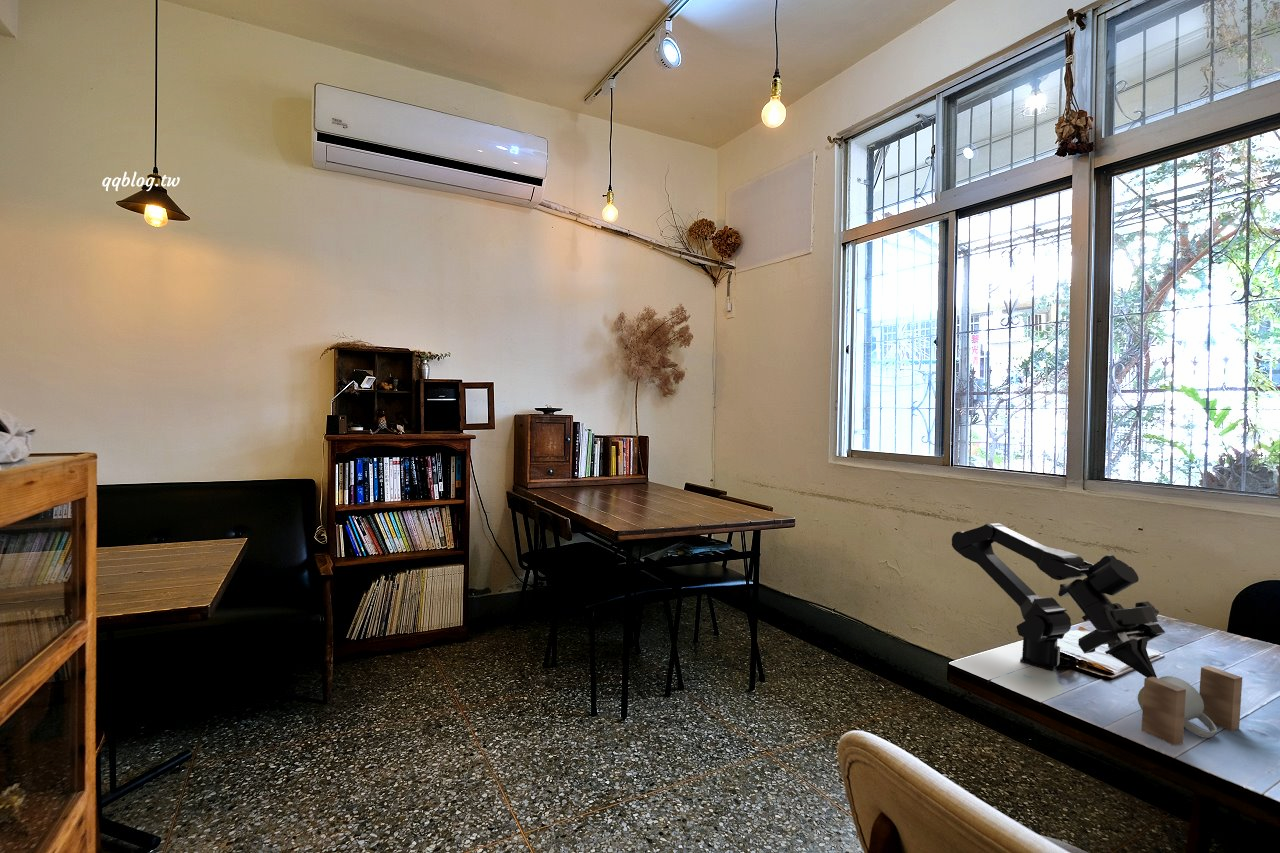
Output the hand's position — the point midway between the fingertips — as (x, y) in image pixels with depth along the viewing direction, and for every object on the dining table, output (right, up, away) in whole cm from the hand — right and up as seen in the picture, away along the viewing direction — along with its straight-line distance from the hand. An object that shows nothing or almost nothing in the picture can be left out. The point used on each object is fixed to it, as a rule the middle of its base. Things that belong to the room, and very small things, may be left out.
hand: (1153, 678), depth 112 cm
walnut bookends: (+2, -7, -6) cm, 9 cm away
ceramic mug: (+1, -7, -4) cm, 8 cm away
